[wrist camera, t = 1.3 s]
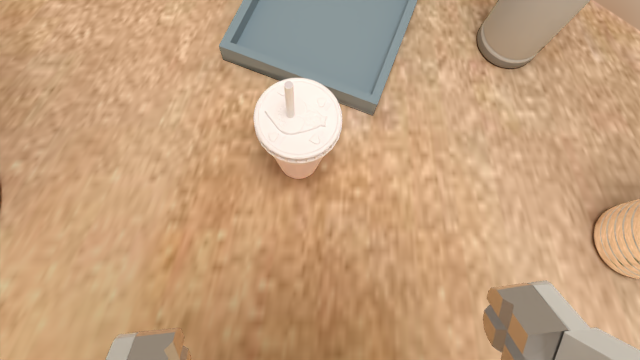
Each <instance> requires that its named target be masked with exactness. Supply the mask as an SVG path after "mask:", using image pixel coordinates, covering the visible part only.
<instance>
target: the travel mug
mask: <svg viewBox="0 0 640 360" xmlns="http://www.w3.org/2000/svg"><path fill="white" fill-rule="evenodd" d="M589 1H590V0H498V2H497V3H496V5H495V6H494V8H493V9H492V11H491V12H490V14H489V15H488V17H487V18H486V20H485V21H484V22H483V24H482V25H481V27H480V29H479V31H478V34H477V42H478V46H479V49H480V51H481V53H482V54H483V55H484V57H485V58H486V59H487V60H489V61H490V62H491V63H493V64H495V65H497V66H500V67H503V68H518V67H521V66H524V65H525V64H527V63H528V62H529V61H530V60H531V59H532V58H533V57H534V56H535V55H536V54H537V53H538V52H539V51H540V50H541V49H542V48H543V47H544V46H545V45H546V44H547V43H548V42H549V41H550V40H551V39H552V38H553V37H554V36H555V35H556V34H557V33H558V32H559V31H560V30H561V29H562V28H563V27H564V26H565V25H566V24H567V23H568V22H569V21H570V20H571V19H572V18H573V17H574V16H575V15H576V14H577V13H578V12H579V11H580V10H581V9H582V8H583V7H584V6H585V5H586V4H587V3H588V2H589Z"/></svg>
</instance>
